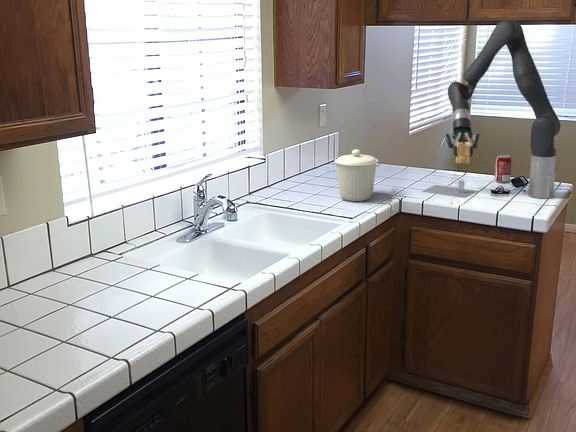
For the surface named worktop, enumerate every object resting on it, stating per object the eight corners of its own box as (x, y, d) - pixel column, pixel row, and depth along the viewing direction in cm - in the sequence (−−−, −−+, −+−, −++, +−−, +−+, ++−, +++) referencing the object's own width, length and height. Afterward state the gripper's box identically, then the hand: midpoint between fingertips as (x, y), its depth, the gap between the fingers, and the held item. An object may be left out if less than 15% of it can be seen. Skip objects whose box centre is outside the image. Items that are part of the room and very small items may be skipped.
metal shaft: (463, 192, 269) (463, 180, 267) (463, 193, 267) (464, 181, 266) (458, 192, 269) (458, 180, 268) (458, 193, 268) (459, 181, 266)
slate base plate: (478, 194, 271) (478, 190, 270) (465, 201, 260) (465, 197, 260) (435, 188, 283) (435, 184, 283) (420, 194, 272) (420, 191, 272)
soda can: (511, 183, 288) (513, 157, 284) (496, 183, 288) (498, 157, 284) (507, 179, 294) (509, 154, 291) (492, 180, 294) (494, 154, 291)
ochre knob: (467, 160, 267) (468, 141, 264) (469, 163, 262) (470, 143, 259) (455, 160, 267) (456, 141, 265) (456, 163, 263) (457, 143, 260)
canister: (363, 206, 257) (363, 155, 252) (326, 200, 268) (325, 151, 262) (385, 196, 271) (386, 147, 265) (349, 191, 282) (349, 144, 276)
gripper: (445, 116, 268) (446, 150, 260) (480, 116, 265) (482, 150, 258) (443, 127, 274) (444, 160, 266) (477, 127, 272) (480, 160, 264)
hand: (463, 155), depth 262 cm, fingers closed on ochre knob, 5 cm apart
